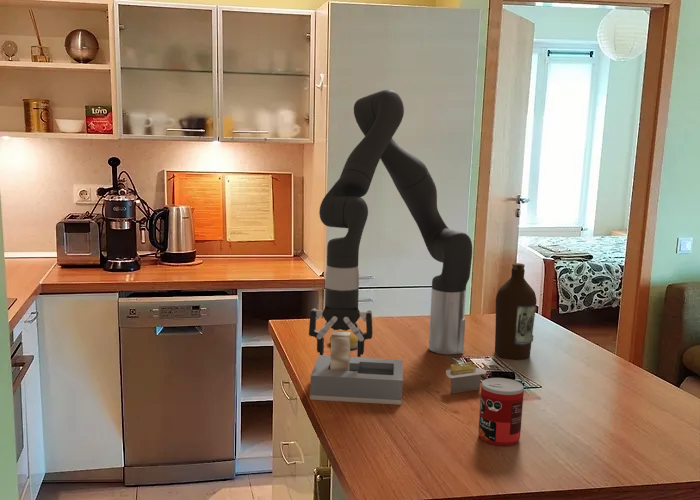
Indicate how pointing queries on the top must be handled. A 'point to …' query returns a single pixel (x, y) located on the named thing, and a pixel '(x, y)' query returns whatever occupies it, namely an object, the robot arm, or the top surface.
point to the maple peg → (340, 351)
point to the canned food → (500, 411)
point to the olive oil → (515, 316)
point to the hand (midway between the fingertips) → (340, 355)
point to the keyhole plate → (358, 381)
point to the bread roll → (351, 340)
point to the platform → (465, 377)
